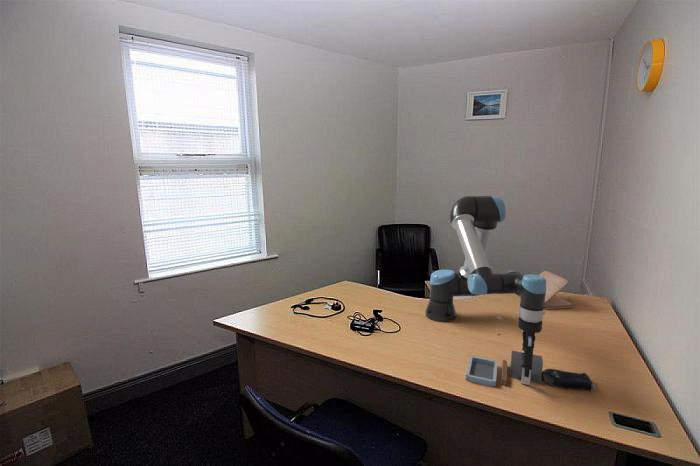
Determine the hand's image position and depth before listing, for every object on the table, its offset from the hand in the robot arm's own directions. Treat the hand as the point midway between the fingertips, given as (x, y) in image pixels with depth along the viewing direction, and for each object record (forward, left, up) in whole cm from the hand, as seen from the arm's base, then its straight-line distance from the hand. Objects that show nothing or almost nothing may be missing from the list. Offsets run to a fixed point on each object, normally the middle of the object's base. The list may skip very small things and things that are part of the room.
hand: (525, 375), depth 132 cm
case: (+13, +85, -1) cm, 86 cm away
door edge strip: (-7, -2, 0) cm, 7 cm away
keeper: (-15, -4, 0) cm, 15 cm away
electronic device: (+13, +2, -1) cm, 13 cm away
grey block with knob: (0, 0, 0) cm, 0 cm away
